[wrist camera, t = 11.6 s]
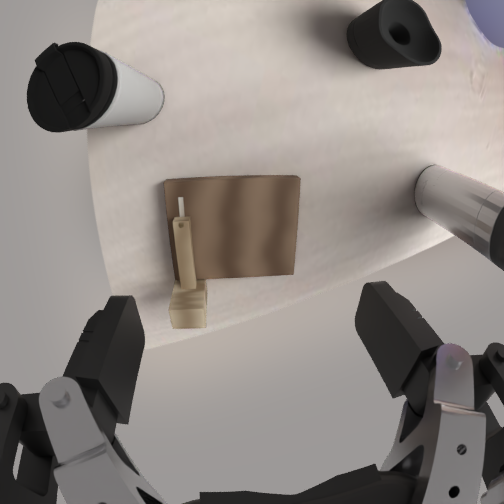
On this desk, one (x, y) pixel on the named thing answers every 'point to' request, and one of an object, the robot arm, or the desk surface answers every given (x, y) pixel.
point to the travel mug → (89, 90)
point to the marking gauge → (187, 282)
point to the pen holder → (394, 36)
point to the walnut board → (237, 223)
